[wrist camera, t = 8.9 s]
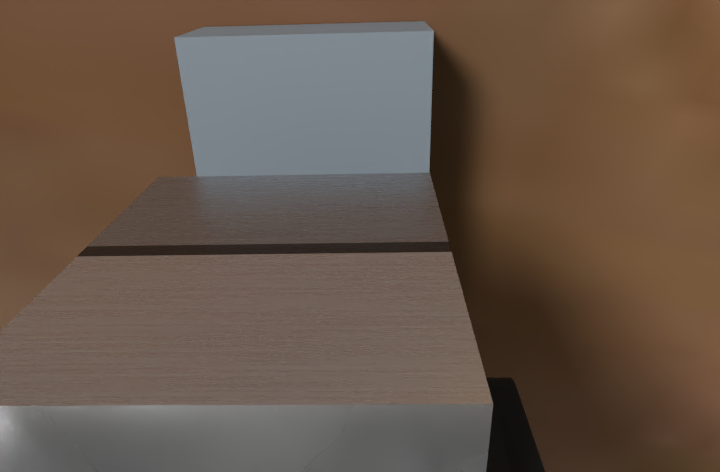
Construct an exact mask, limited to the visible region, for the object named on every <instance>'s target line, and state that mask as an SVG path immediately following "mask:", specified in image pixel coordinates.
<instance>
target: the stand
mask: <svg viewBox="0 0 720 472" xmlns="http://www.w3.org/2000/svg"><path fill="white" fill-rule="evenodd" d="M174 39H175V45H176V51H177V57H178V63H179V70H180V76H181V82H182V88H183V94H184V100H185V106H186V112H187V118H188V124H189V130H190V136H191V142H192V149H193V155H194V161H195V167H196V173H197V177H200V176H258V175H317V174H375V173H429V170H430V138H431V106H432V74H433V41H434V31H433V30H432V29H431V28H430V27H429V26H428V25H427V24H426V23H425V22H424V21H416V22H378V23H339V24H301V25H263V26H225V27H202V28H200V29H197V30H194V31H191V32H188V33H185V34H183V35H180V36H177V37H174Z"/></svg>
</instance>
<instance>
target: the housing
mask: <svg viewBox="0 0 720 472" xmlns="http://www.w3.org/2000/svg"><path fill="white" fill-rule="evenodd" d="M492 411H493V401H492V398H491V394H490V390H489V387H488V383H487V379H486V376H485V372H484V368H483V365H482V361H481V357H480V354H479V350H478V346H477V343H476V339H475V336H474V332H473V328H472V325H471V321H470V317H469V314H468V310H467V306H466V303H465V299H464V295H463V292H462V288H461V285H460V281H459V277H458V274H457V270H456V266H455V263H454V259H453V255H452V252H451V248H450V244H449V241H448V237H447V233H446V230H445V226H444V223H443V219H442V215H441V212H440V208H439V204H438V201H437V197H436V193H435V190H434V186H433V182H432V179H431V175H430V173H375V174H317V175H258V176H200V177H158V178H157V179H156V180H155V181H154V182H153V183H152V184H151V185H150V186H149V187H148V188H147V189H146V190H145V191H144V192H143V193H142V194H141V195H140V196H139V197H138V198H136V199H135V200H134V201H133V202H132V203H131V204H130V205H129V206H128V207H127V208H126V209H125V210H124V211H123V212H122V213H121V214H120V215H119V216H118V217H117V218H116V219H115V220H114V221H113V222H112V223H111V224H110V225H109V226H108V227H107V228H106V229H105V230H104V231H103V232H102V233H101V234H100V235H99V236H98V237H97V238H96V239H94V240H93V241H92V242H91V243H90V244H89V245H88V246H87V247H86V248H85V249H84V250H83V251H82V252H81V253H80V254H79V255H78V256H77V257H76V258H75V259H74V260H73V261H72V262H71V263H70V264H69V265H68V266H67V267H66V268H65V269H64V270H63V271H62V272H61V273H60V274H59V275H58V276H57V277H56V278H55V279H54V280H53V281H51V282H50V283H49V284H48V285H47V286H46V287H45V288H44V289H43V290H42V291H41V292H40V293H39V294H38V295H37V296H36V297H35V298H34V299H33V300H32V301H31V302H30V303H29V304H28V305H27V306H26V307H25V308H24V309H23V310H22V311H21V312H20V313H19V314H18V315H17V316H16V317H15V318H14V319H13V320H12V321H11V322H9V323H8V324H7V325H6V326H5V327H4V328H3V329H2V330H1V331H0V472H486V468H487V459H488V449H489V440H490V430H491V421H492Z"/></svg>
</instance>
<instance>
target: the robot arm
mask: <svg viewBox="0 0 720 472" xmlns="http://www.w3.org/2000/svg"><path fill="white" fill-rule="evenodd" d="M486 379H487V383H488V387H489V390H490V394H491V398H492V401H493V411H492V421H491V430H490V440H489V449H488V459H487V468H486V472H545V471H544V468H543V465H542V462H541V459H540V456H539V453H538V450H537V447H536V444H535V441H534V438H533V435H532V432H531V429H530V426H529V423H528V420H527V417H526V414H525V411H524V409H523V406H522V403H521V400H520V397H519V394H518V391H517V388H516V385H515V383H514V381H513V380H512V379H511V378H486Z"/></svg>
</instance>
